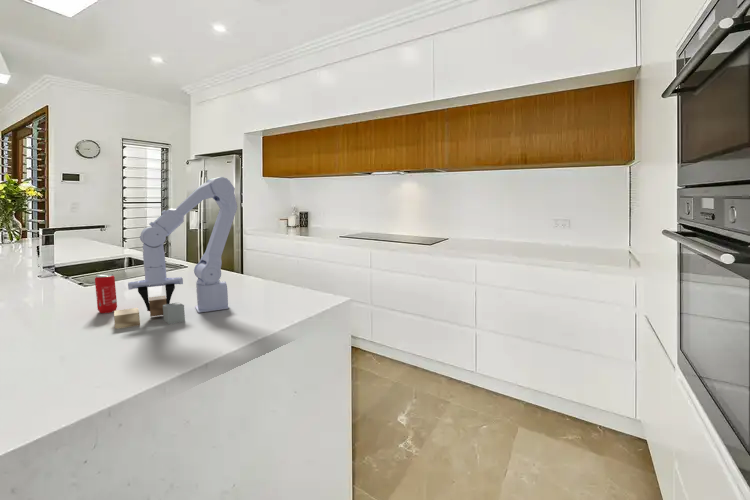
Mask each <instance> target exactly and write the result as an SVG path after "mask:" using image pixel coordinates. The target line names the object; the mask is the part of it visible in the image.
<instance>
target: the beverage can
mask: <svg viewBox="0 0 750 500" xmlns="http://www.w3.org/2000/svg"><path fill="white" fill-rule="evenodd" d="M94 282H95V283H94V284H95V295H96V296H95V298H96V305H97V307H96V308H97V311H98V312H99V314H111V313H114V311H116V310H117V309H118V301H117V288H116V279H115V275H114V274H113V273H105V274H104V273H103V274H98V275H95V278H94Z"/></svg>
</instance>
